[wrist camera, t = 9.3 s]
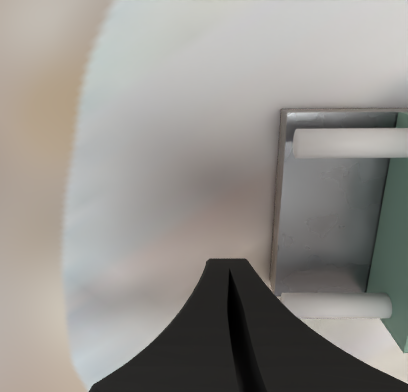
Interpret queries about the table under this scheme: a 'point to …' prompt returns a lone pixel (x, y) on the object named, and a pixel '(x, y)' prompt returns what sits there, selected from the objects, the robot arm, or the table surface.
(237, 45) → the table surface
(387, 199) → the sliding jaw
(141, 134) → the table surface
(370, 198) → the base
